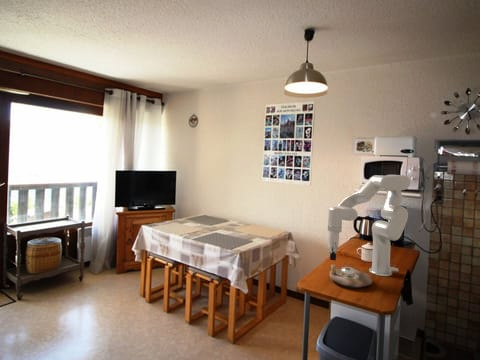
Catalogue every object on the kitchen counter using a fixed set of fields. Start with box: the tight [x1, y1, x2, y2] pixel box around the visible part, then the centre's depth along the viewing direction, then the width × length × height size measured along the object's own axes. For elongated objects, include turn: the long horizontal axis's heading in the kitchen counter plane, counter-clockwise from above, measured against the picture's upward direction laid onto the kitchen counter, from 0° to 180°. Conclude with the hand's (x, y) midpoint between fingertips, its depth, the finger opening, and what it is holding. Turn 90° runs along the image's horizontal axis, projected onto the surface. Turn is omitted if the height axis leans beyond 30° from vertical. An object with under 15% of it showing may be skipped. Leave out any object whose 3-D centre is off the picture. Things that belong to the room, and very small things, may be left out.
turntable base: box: [335, 282, 365, 289], centre depth 162 cm, size 16×16×2 cm
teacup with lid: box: [356, 242, 373, 263], centre depth 201 cm, size 12×9×12 cm
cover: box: [340, 266, 356, 278], centre depth 163 cm, size 7×7×4 cm
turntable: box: [329, 264, 373, 288], centre depth 162 cm, size 22×22×6 cm
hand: (332, 259), depth 169 cm, fingers closed
